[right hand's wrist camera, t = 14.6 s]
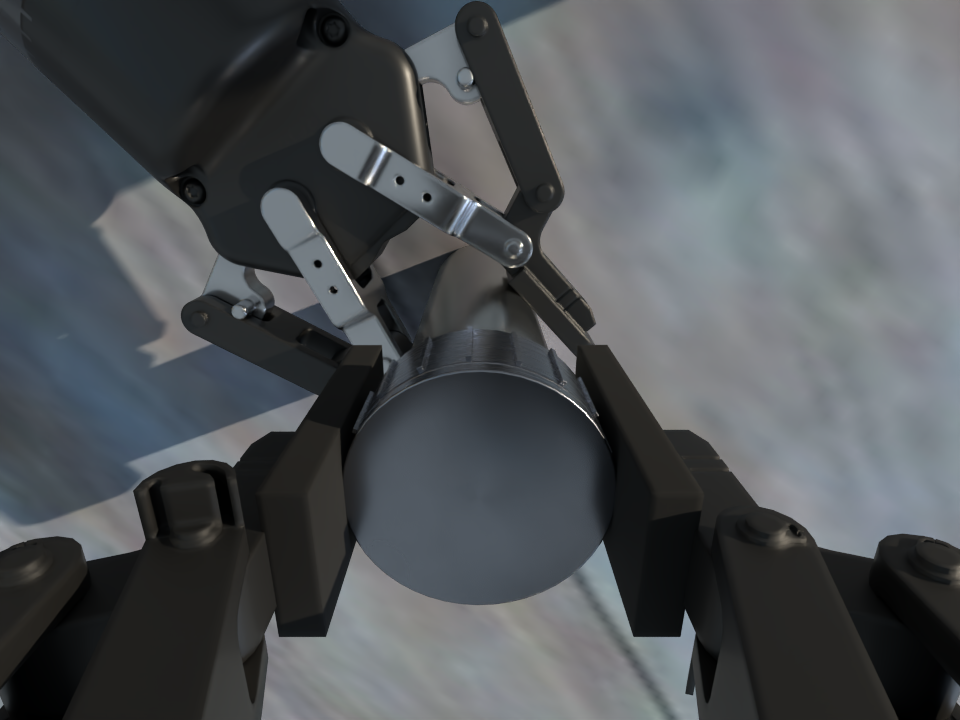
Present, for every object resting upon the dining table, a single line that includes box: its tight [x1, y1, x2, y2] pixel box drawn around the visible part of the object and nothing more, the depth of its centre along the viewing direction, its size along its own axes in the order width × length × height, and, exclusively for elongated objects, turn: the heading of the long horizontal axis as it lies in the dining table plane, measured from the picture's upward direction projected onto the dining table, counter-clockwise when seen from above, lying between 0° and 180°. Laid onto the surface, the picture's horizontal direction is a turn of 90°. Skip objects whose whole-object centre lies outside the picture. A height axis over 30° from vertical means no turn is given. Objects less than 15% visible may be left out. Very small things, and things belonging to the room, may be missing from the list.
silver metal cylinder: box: [411, 245, 548, 349], centre depth 18 cm, size 4×4×16 cm
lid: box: [343, 327, 617, 605], centre depth 11 cm, size 5×5×2 cm
